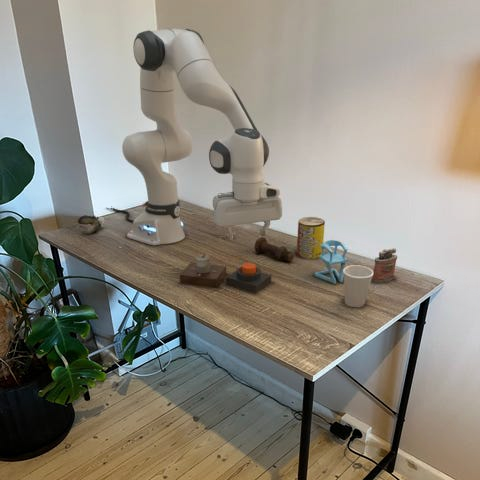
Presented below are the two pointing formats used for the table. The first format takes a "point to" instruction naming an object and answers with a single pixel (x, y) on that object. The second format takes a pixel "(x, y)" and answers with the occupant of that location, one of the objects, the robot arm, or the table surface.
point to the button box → (248, 280)
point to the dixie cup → (356, 284)
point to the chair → (332, 261)
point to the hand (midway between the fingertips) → (248, 236)
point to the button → (248, 268)
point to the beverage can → (310, 237)
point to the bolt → (273, 250)
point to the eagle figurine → (93, 221)
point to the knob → (202, 263)
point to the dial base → (203, 276)
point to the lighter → (384, 266)
